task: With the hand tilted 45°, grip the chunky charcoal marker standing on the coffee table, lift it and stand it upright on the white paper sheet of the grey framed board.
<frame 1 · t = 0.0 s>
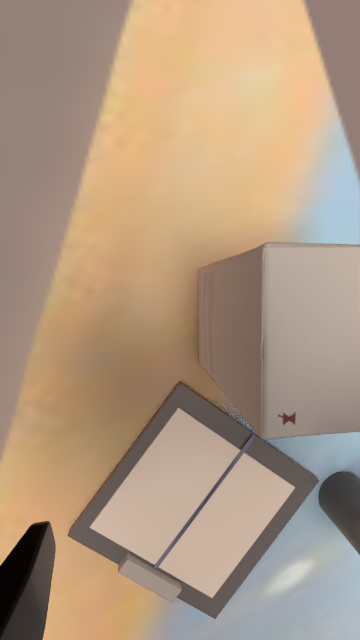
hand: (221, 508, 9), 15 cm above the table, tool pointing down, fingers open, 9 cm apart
grey framed board: (197, 501, 25), on the table
supplement box: (244, 314, 25), on the table
marker: (341, 494, 27), on the table
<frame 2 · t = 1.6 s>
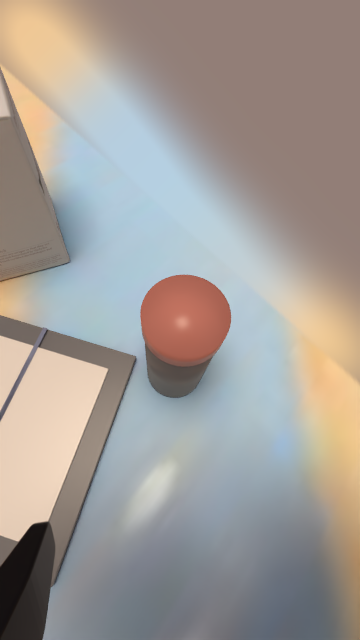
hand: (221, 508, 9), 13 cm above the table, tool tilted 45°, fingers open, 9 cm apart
grey framed board: (2, 424, 22), on the table
supplement box: (20, 242, 28), on the table
marker: (174, 370, 24), on the table
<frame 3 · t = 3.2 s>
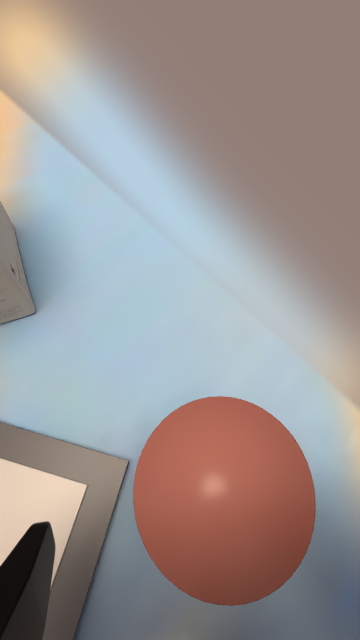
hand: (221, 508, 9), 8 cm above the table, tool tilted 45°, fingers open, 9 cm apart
marker: (185, 478, 16), on the table
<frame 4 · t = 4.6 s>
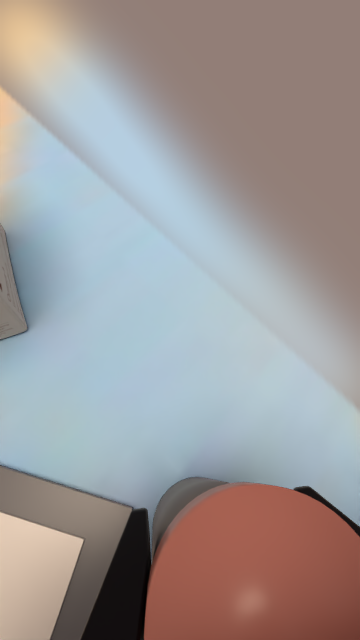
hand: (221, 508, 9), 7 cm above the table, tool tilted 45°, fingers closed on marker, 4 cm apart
marker: (198, 527, 14), on the table, touching gripper
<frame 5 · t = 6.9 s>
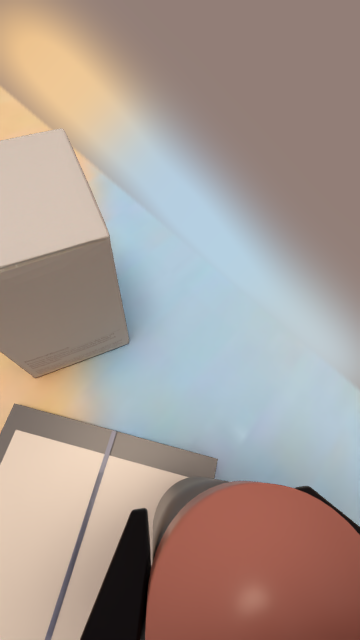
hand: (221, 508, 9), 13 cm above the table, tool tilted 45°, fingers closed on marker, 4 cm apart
grey framed board: (77, 553, 19), on the table
supplement box: (71, 320, 25), on the table
marker: (198, 527, 14), point 7 cm above the table, touching gripper
when the fingers open (9 cm above the table, at t = 9.1 s): marker drops 1 cm, resting on grey framed board.
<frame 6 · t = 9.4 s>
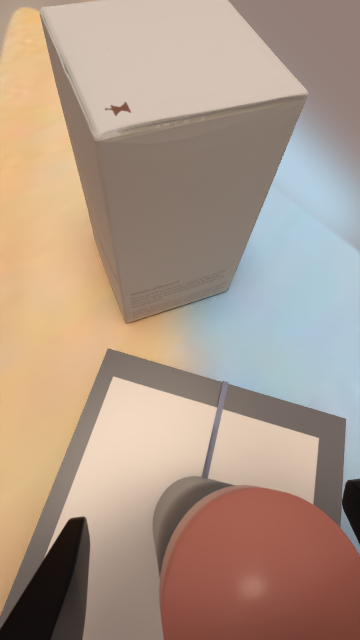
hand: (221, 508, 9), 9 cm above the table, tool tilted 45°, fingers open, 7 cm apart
grey framed board: (192, 520, 16), on the table
supplement box: (160, 265, 22), on the table
marker: (195, 523, 15), point 1 cm above the table, touching grey framed board
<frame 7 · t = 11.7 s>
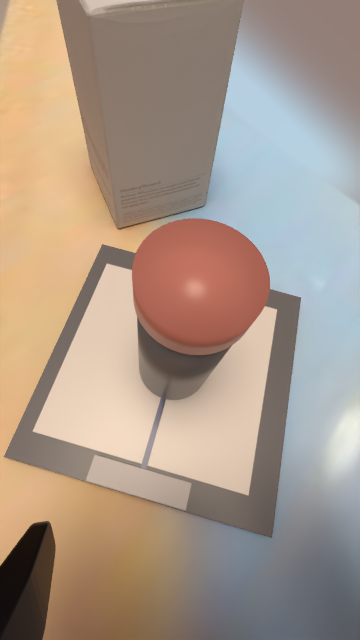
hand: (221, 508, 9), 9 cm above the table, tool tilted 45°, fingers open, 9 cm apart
grey framed board: (172, 369, 20), on the table
supplement box: (147, 186, 26), on the table
marker: (173, 365, 19), point 1 cm above the table, touching grey framed board
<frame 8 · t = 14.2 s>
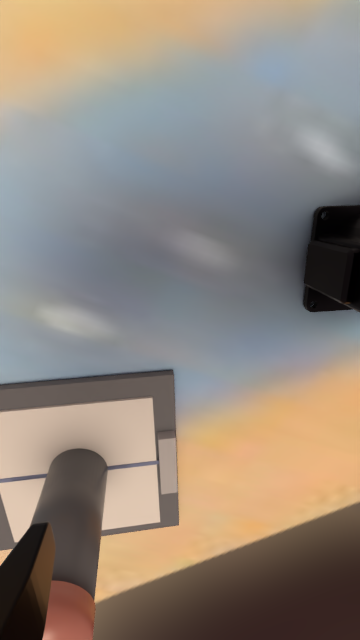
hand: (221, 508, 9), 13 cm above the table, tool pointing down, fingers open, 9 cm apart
grey framed board: (80, 462, 24), on the table
marker: (78, 471, 23), point 1 cm above the table, touching grey framed board
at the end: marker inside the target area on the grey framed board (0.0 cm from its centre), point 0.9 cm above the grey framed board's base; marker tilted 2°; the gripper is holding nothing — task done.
